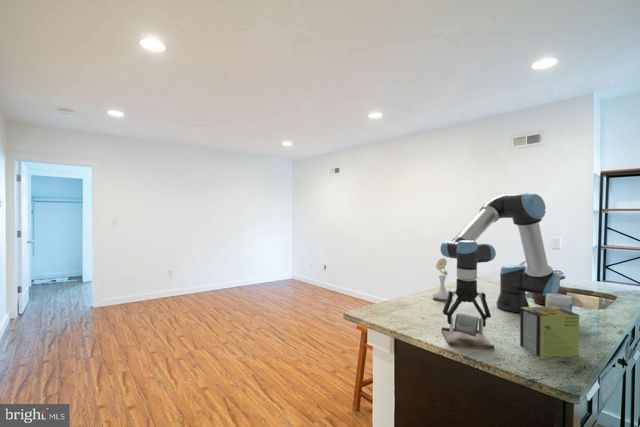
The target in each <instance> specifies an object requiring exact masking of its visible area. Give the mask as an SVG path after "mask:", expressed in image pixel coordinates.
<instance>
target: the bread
mask: <svg viewBox="0 0 640 427" xmlns="http://www.w3.org/2000/svg"><path fill="white" fill-rule="evenodd" d="M557 294H564V295H568V292H567V290H566V289H565V288H564V287H562V286H559V289H558V291H557ZM531 298H532V300H533V301H534V302H535V303H537V304H540V305H543V306H546V296H543V295H540V294H535V293H531Z"/></svg>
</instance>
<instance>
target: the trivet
mask: <svg viewBox="0 0 640 427" xmlns="http://www.w3.org/2000/svg"><path fill="white" fill-rule="evenodd" d="M441 333H442V334H443V336H444V338H445V341H446V343H447V344H448V346H449V347H456V348H457V347H459V348H467V349H468V348H469V349H478V348H481V349H480V350H490V349H494V350H495V345H494V344H491V342H490V340H488V339H487V337H486V336H485V334H483V335H480V334H479V329H477V334H476V337H474V336H471V335H468V334H465V333H462V332H459V331H457V330H455V328H454V327H453V333H451V332H450V327H445V326H443V327H441Z"/></svg>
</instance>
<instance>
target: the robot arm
mask: <svg viewBox="0 0 640 427" xmlns="http://www.w3.org/2000/svg"><path fill="white" fill-rule="evenodd" d="M546 208H547V207H546V204H545V201H544V199H543V197H542V196H541V195H539V194H537V193H527V192H526V193H514V194H502V195H498V196H496V197H494V198H492V199H490V200H488V201H487V202H485V204H483V205H482V206H481V207H480V209H479V212H478V213H477V214H476V216H475V217H473V219H472V220H470V221H469V223H468V224H467V225H465V227H463V229H462V230H461V231H460V232H459V233H458V234H457V235H456V236H455V237H453V239H452V240H445V241H443V242H442V243H441V245H440V253H441V255H442V256H443V257H444V258H450V259H456V278H457V279H456V285H455V287H456V288H455V291H454V290H447V291H448V298H447V300H445V305H444V306H443V310H442V313H443V315H444V316H447V321H446V322H447V324H448V325H449V328H450V332H451V333H453V328H454V316H453V315H454V314H455V311H456V310H457V309H458V307H459V306H460V304H462V303H472V304H473V306H474V307H475V308H476V310H477V312H478V313H479V315H480V316H479V317H478V330H479V334H480V335H484V328H485V327H486V326H487V322H486V320H487V319H488V318H490V319H491V317H492V314H491V311H490V309H489V307H488V303H487V299H486V295H487V294H486V293H485V292H483V291H480V292H479V291H478V280H477V279H478V264H480V263H488V262H492V261H493V260H494V259H495V258H496V255H497V252H496V249H495V247H494V246H493V245H491V244H489V243H482V244H481V243H480V244H479V243H477V241H476V240H478V239H479V238H480V236H482V234H484V232H485V231H486V230H487V229H488V228H489V227H490V226H491V224H493V223H496V222H497V221H499V220H500V219H505V218H506V219H507V218H508V219H512V222H513V224H514V225H515V226H518V227H517V229H518V232H519V237H520V241H521V244H522V248H523V253H524V254H523V255H524V259H525V262H526V266H525V265H523V264H522V265H520V264H519V265H514V264H513V265H512V264H511V265H504V266H501V268H500V274H499V275H500V276H499V277H500V279H499V280H500V282H499V284H500V285H499V286H500V290H499V291H500V293H499V295H498V297H497V300H496V307H497V308H498V309H501V310H504V311H508V312H514V313H520V308H521V307H530V304H529V302H528V298H527V296H526V293H530V294H532V293H535V294H540V295H543V296H546V294H547V293H557V291H558V289H559V286H560V285H561V276H560V275H559V274H558V273H554V270H553V268H552V266H550V265H548V259H547V255H546V250H545V245H544V241H543V240H544V239H543V236H542V231H541V226H540V222H541V221H542V220H543V218H544V217H545V214H546ZM455 295H456V297H457V298H456V299H455V301H454V302H453V304H452V305H451V303H452V300H453V297H454V296H455ZM477 297H478V298H480V301H481V305H482V307H483V310H484V311H483V310H482V308H481V307H480V305H479V303H478V301H477V300H476V298H477ZM450 305H451V306H450Z"/></svg>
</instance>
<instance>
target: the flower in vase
mask: <svg viewBox="0 0 640 427" xmlns="http://www.w3.org/2000/svg"><path fill="white" fill-rule="evenodd" d="M447 261H448V260H447V259H446V258H445V257H443V258H442V257H441V258H439V260H437V262H436V266H435V268H436V270H438V271H439V272H440V273H441V274H438V275H437V276H438V278H439V282H440V284H439V285H440V286H439V288H438V289H436V290H435V291H433V293H432V297H433V298H435V299H438V300H445V301H447V298H448V291H449V290H447V289H446V286H445V281H446V278H447V277H448V271H447V270H446V269H445V267H446V266H447V263H448V262H447Z"/></svg>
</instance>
